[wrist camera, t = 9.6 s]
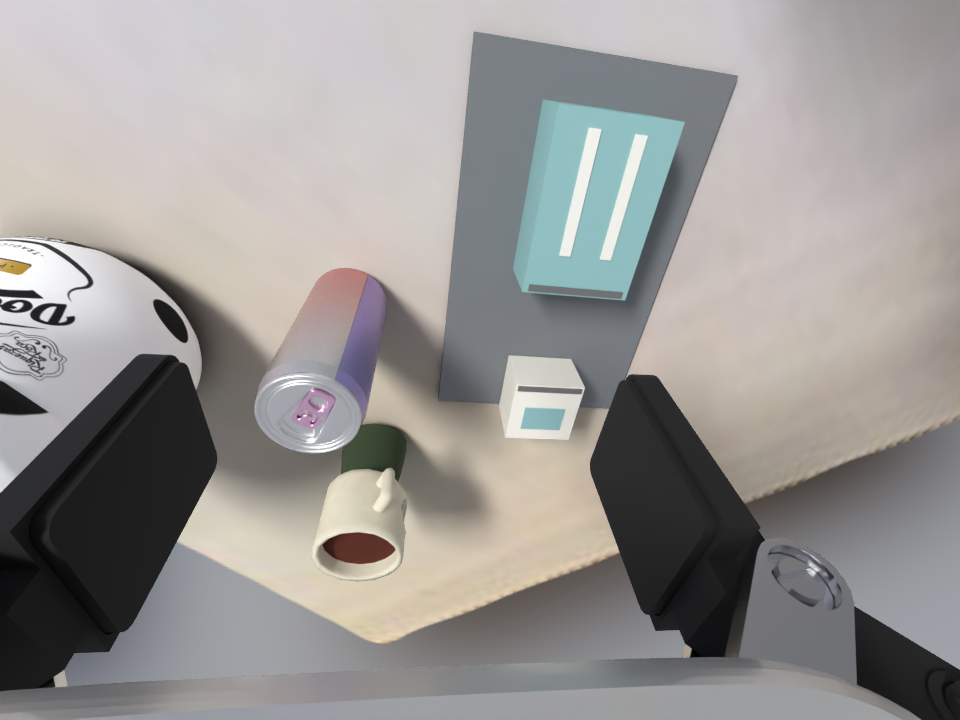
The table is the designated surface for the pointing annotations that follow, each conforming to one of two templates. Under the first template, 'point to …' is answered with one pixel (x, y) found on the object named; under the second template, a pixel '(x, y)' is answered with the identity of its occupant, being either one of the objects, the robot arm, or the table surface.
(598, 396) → the mat
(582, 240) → the striped teal box
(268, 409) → the beverage can
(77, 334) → the milk container
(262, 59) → the table surface
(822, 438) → the table surface
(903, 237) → the table surface
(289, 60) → the table surface
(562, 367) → the white box
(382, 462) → the character mug
